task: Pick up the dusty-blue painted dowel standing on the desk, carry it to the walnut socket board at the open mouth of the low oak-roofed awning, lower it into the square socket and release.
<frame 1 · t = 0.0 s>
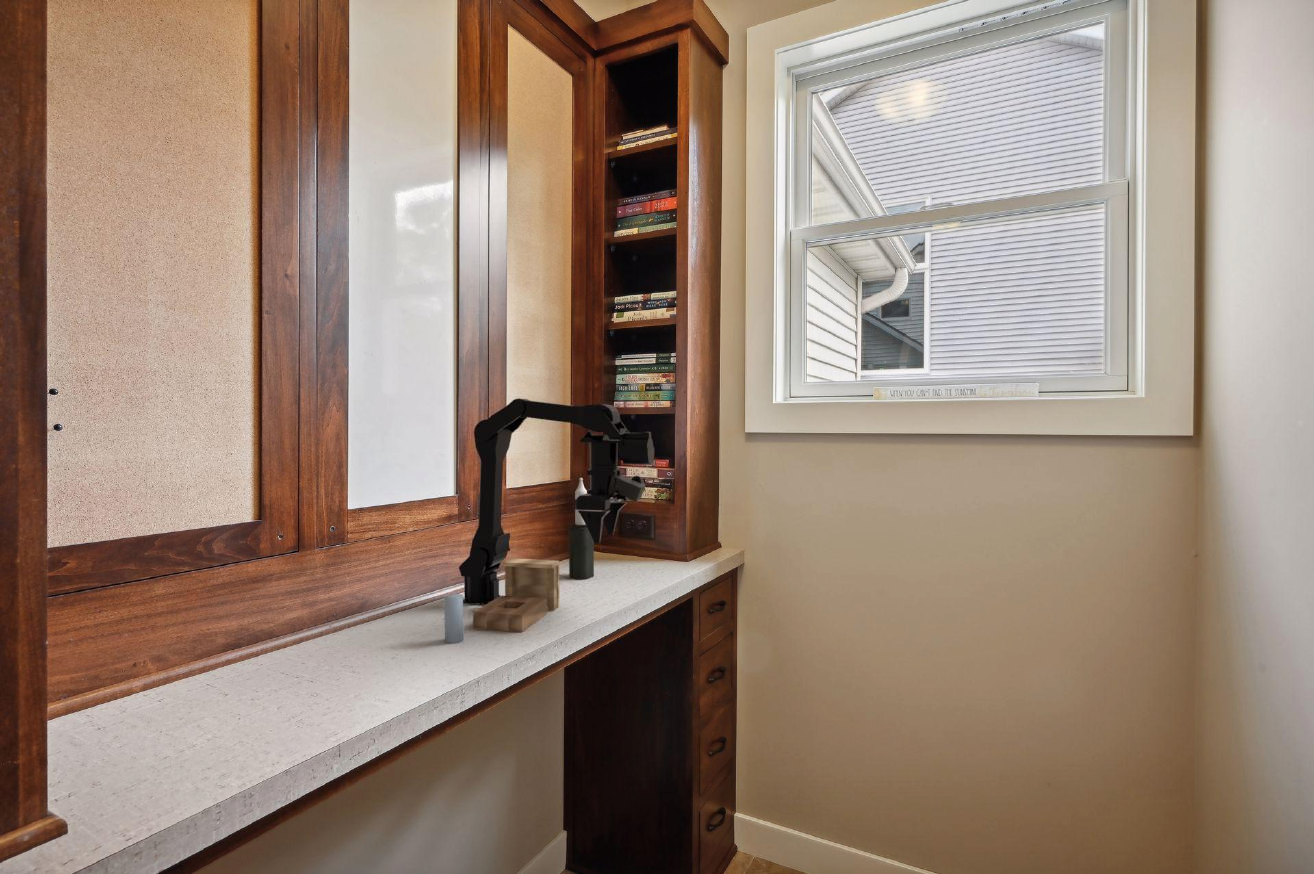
hand: (604, 539, 139), 15 cm above the table, fingers open, 9 cm apart
peg: (454, 640, 120), on the table
socket station: (511, 620, 132), on the table
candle: (581, 577, 168), on the table
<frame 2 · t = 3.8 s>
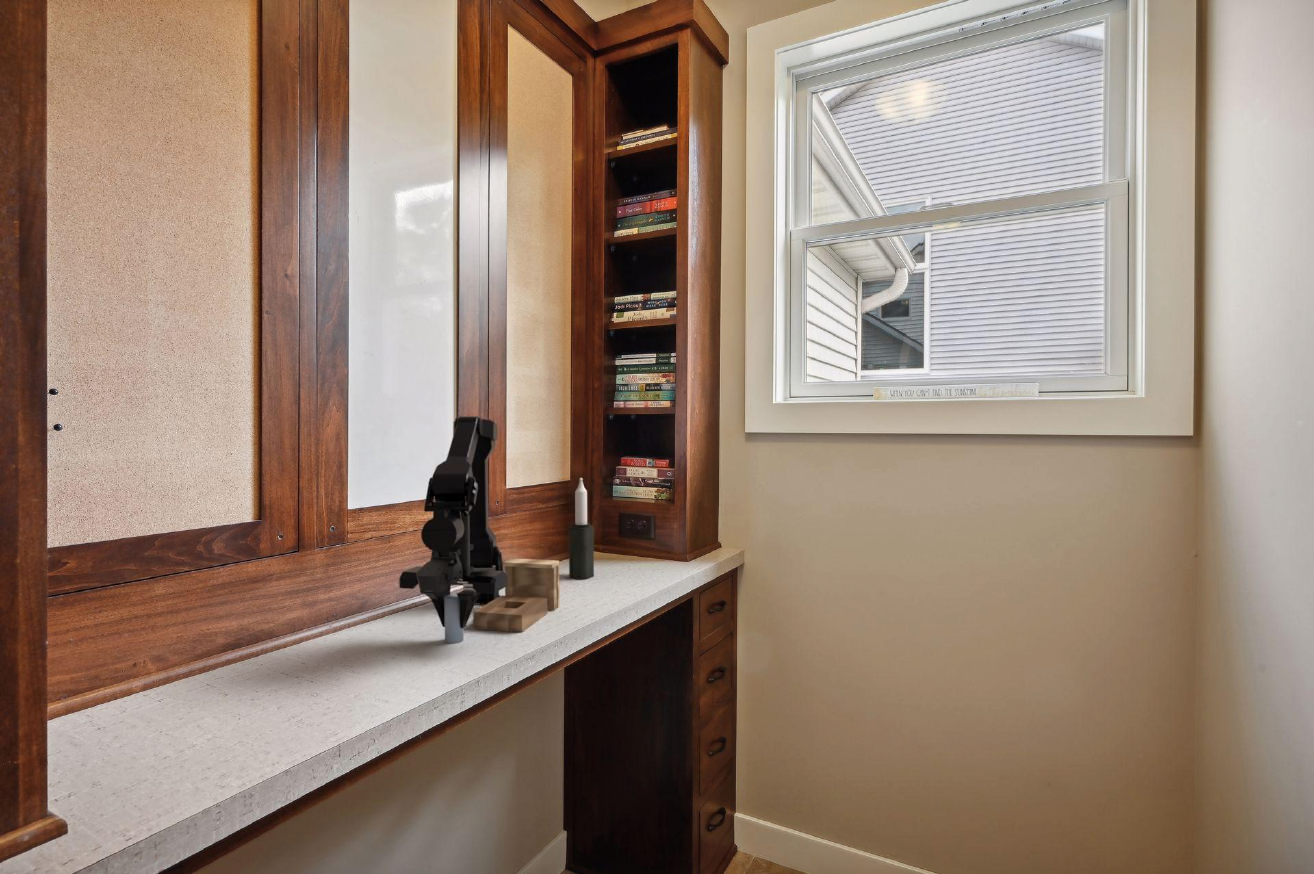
hand: (454, 627, 120), 2 cm above the table, fingers closed on peg, 3 cm apart
peg: (454, 640, 120), on the table, touching gripper
everything else where it was.
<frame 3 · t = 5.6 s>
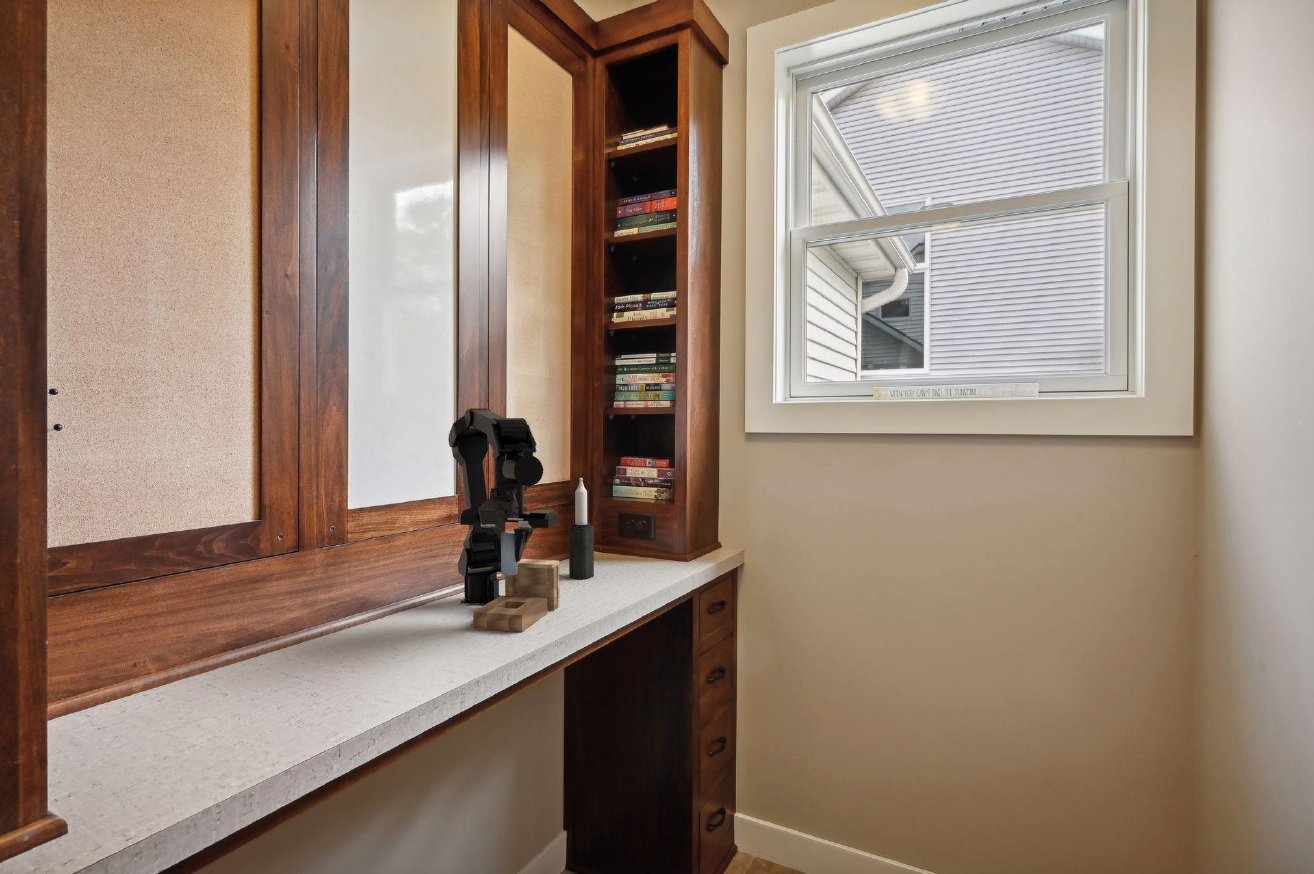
hand: (509, 561, 131), 12 cm above the table, fingers closed on peg, 3 cm apart
peg: (509, 573, 131), point 9 cm above the table, touching gripper
everything else where it was.
when the fingers open (4 cm above the table, at t = 7.5 s): peg drops 1 cm, resting in socket station.
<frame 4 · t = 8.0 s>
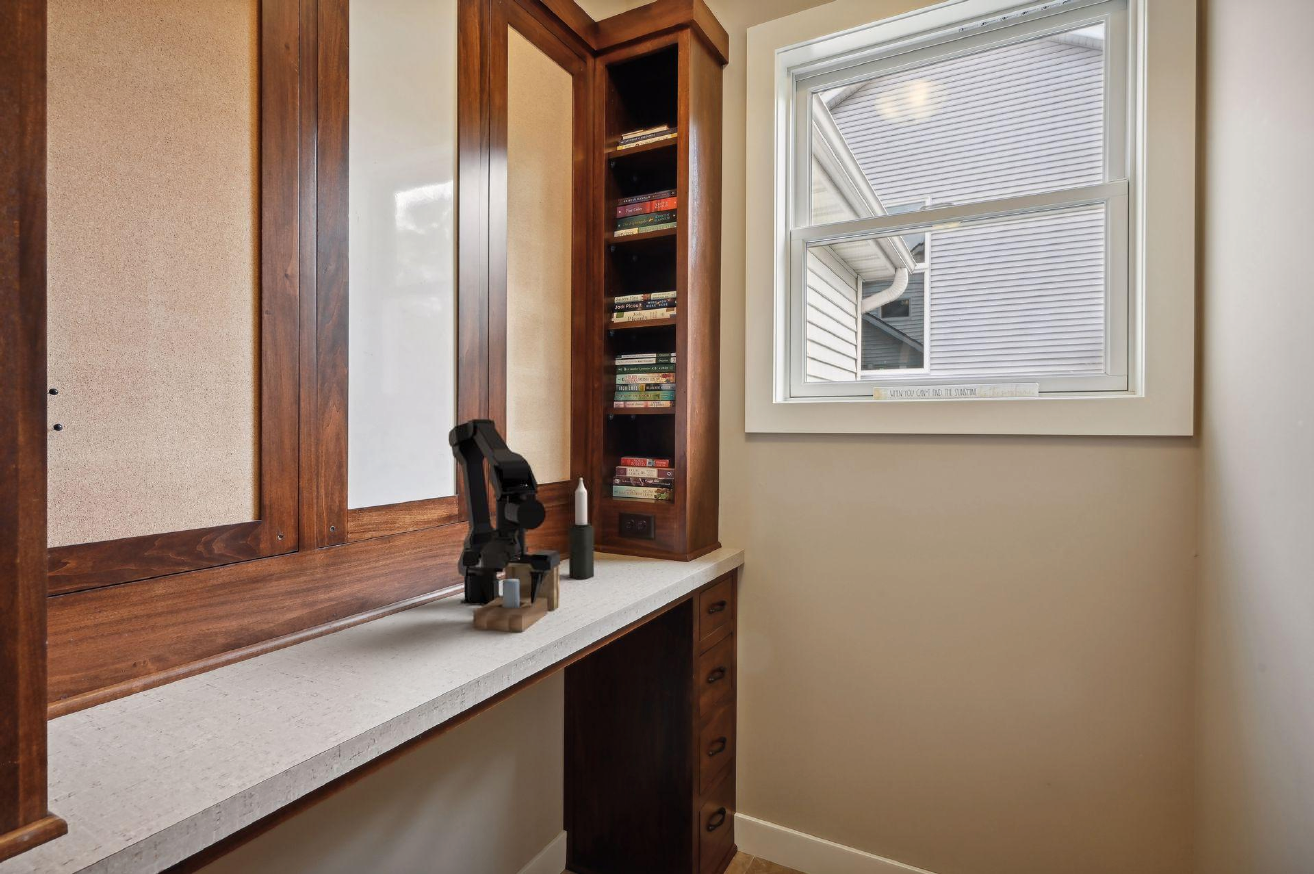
hand: (511, 601, 132), 4 cm above the table, fingers open, 9 cm apart
peg: (511, 621, 132), resting in socket station
everything else where it was.
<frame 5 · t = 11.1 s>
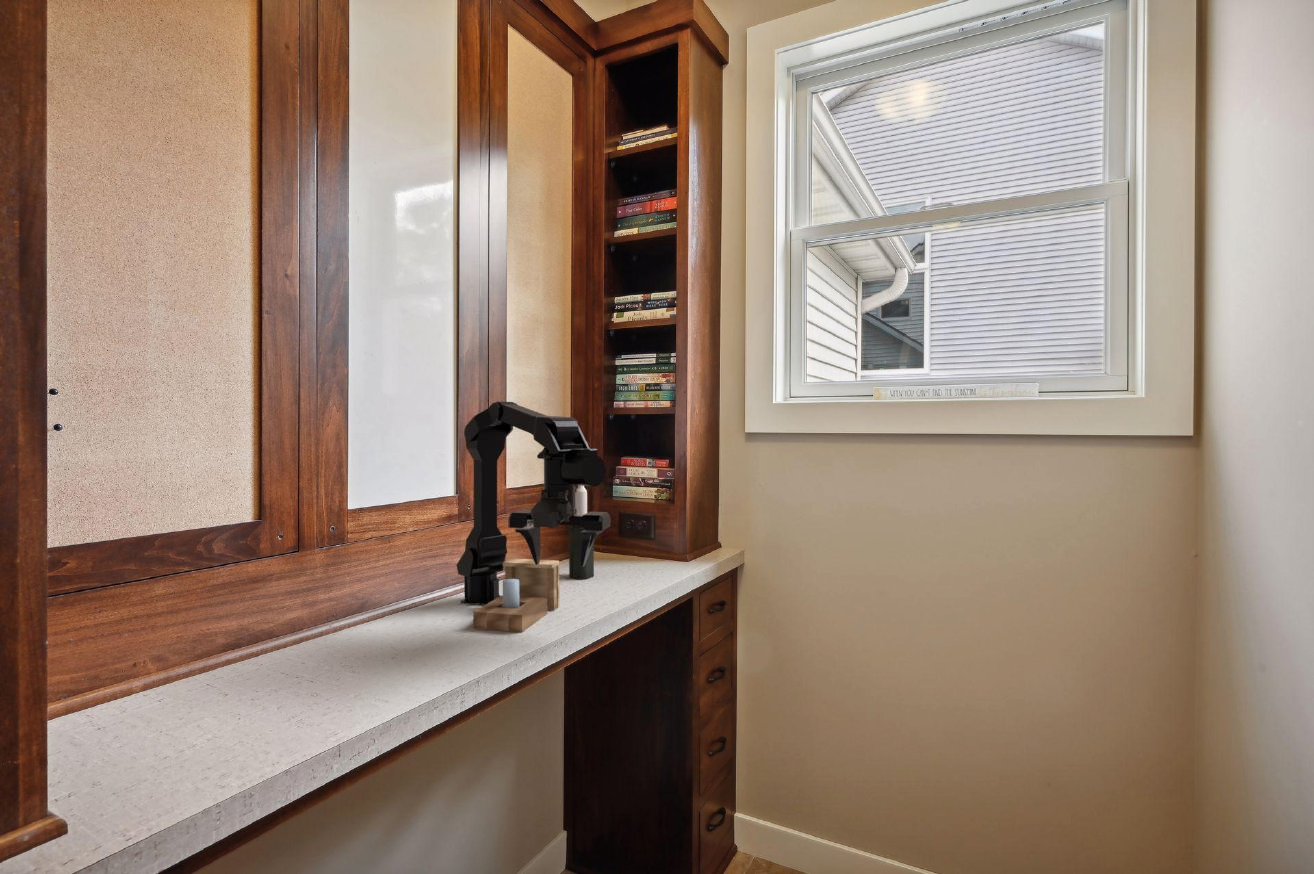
hand: (559, 565, 127), 12 cm above the table, fingers open, 9 cm apart
nothing on the table moved.
at the end: peg 0.0 cm off-centre on the socket station, point 0.0 cm above the socket station's base; peg tilted 0°; the gripper is holding nothing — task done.
